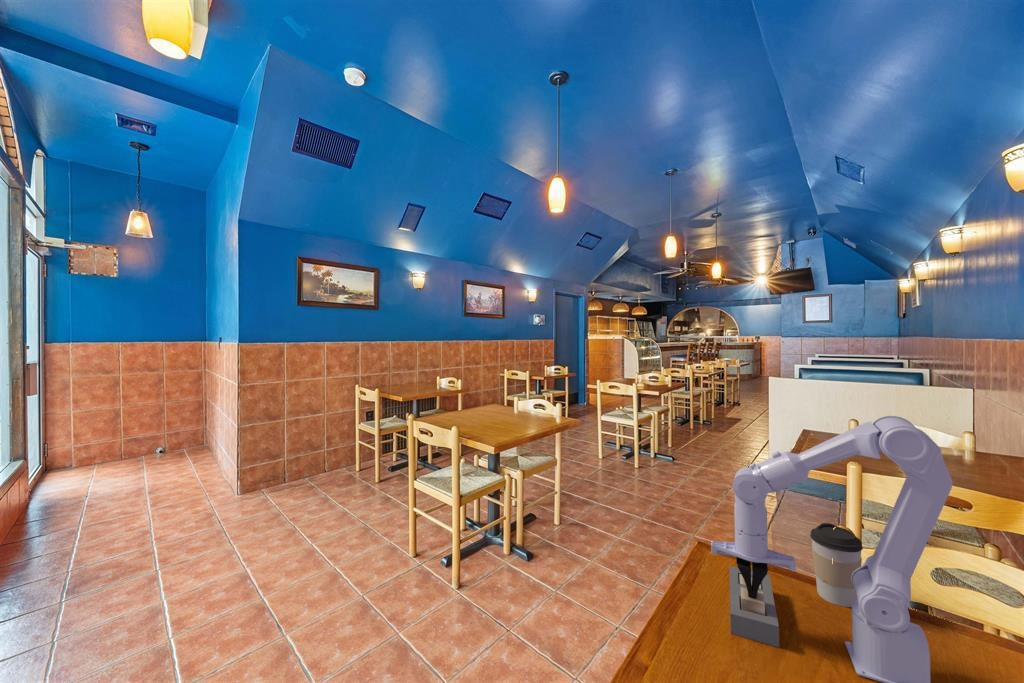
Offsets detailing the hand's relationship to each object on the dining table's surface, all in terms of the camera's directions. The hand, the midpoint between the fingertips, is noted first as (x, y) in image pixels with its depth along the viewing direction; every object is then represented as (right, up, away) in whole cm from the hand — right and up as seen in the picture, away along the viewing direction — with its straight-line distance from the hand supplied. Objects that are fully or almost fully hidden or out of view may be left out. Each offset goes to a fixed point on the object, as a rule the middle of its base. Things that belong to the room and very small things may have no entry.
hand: (752, 595), depth 80 cm
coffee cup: (+24, -6, +8) cm, 26 cm away
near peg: (0, -4, 0) cm, 4 cm away
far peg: (+4, -6, +8) cm, 11 cm away
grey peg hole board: (+2, -6, +4) cm, 8 cm away
